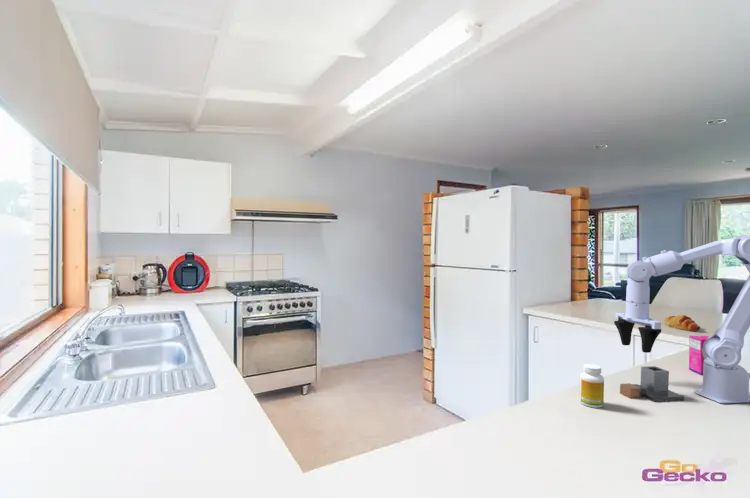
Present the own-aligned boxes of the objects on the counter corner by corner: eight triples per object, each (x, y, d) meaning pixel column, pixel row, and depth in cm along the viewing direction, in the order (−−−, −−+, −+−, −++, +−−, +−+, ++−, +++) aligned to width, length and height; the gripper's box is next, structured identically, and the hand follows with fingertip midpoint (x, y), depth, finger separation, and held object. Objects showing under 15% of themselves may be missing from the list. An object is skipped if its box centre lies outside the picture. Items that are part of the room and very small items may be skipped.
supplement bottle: (606, 409, 100) (607, 370, 99) (582, 407, 101) (584, 368, 100) (599, 400, 105) (600, 363, 105) (576, 398, 106) (577, 362, 106)
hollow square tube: (654, 387, 113) (655, 366, 112) (668, 393, 108) (668, 371, 108) (640, 388, 112) (641, 366, 112) (653, 394, 108) (654, 371, 107)
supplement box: (706, 370, 132) (708, 335, 132) (720, 376, 127) (721, 339, 126) (687, 369, 133) (689, 334, 133) (700, 375, 127) (701, 339, 127)
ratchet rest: (655, 387, 115) (655, 375, 115) (683, 400, 106) (684, 387, 106) (612, 389, 113) (613, 377, 113) (638, 402, 104) (638, 389, 104)
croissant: (659, 330, 209) (652, 316, 209) (676, 321, 209) (669, 307, 209) (693, 339, 188) (686, 324, 188) (712, 329, 188) (704, 314, 188)
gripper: (607, 298, 124) (605, 342, 124) (645, 306, 110) (643, 355, 110) (627, 298, 125) (626, 341, 126) (668, 306, 111) (666, 355, 111)
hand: (635, 348), depth 118 cm, fingers open, 7 cm apart
